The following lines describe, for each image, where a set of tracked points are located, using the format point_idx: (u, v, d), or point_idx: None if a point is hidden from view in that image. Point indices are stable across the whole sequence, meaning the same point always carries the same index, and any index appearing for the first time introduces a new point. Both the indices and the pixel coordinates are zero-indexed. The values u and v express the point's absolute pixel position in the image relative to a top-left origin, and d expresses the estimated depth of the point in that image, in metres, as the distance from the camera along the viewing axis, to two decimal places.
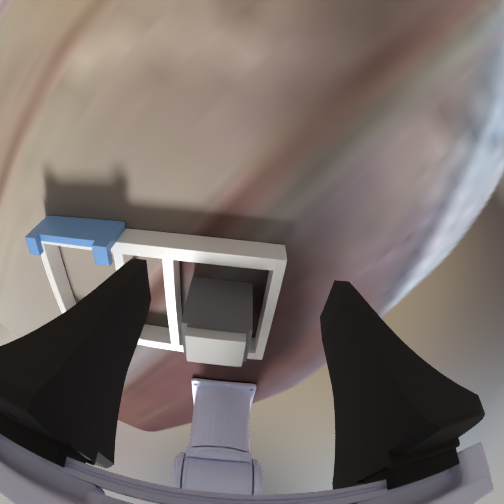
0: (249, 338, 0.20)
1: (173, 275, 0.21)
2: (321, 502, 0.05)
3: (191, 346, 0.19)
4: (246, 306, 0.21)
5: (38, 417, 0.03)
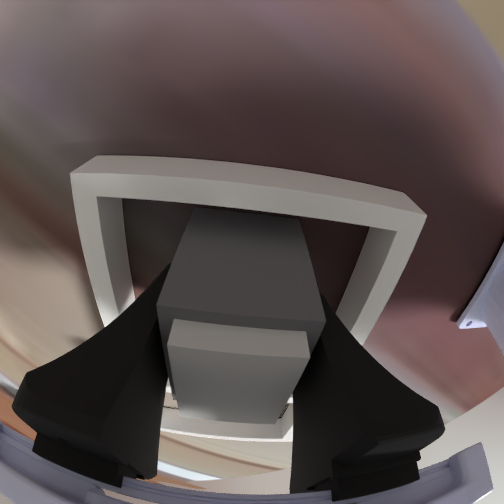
0: (195, 313, 0.06)
1: None
2: (322, 502, 0.05)
3: (217, 416, 0.08)
4: None
5: (107, 443, 0.03)
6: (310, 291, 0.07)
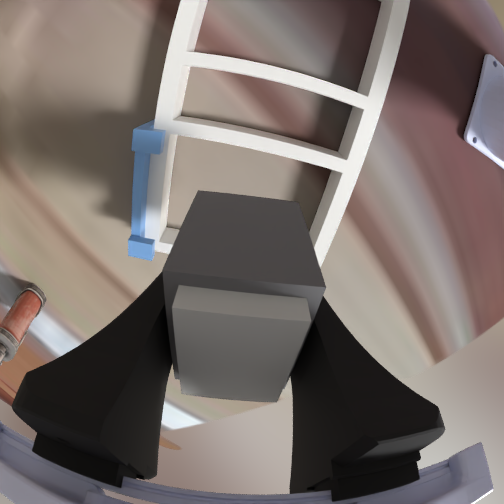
0: (200, 278, 0.07)
1: (213, 55, 0.12)
2: (322, 502, 0.05)
3: (218, 393, 0.08)
4: None
5: (107, 443, 0.03)
6: (310, 261, 0.08)
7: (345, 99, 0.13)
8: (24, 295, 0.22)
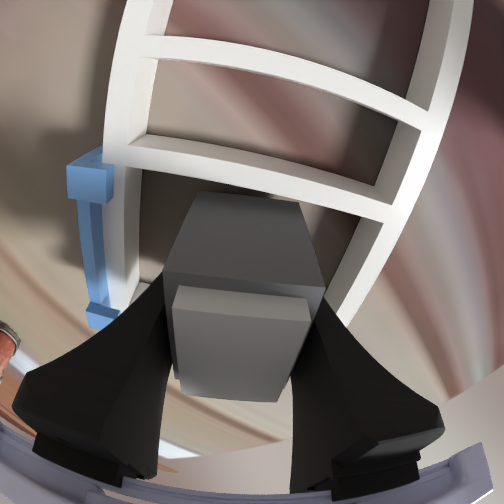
0: (200, 278, 0.07)
1: (188, 38, 0.07)
2: (321, 502, 0.05)
3: (218, 393, 0.08)
4: None
5: (107, 443, 0.03)
6: (310, 261, 0.08)
7: (397, 113, 0.08)
8: None
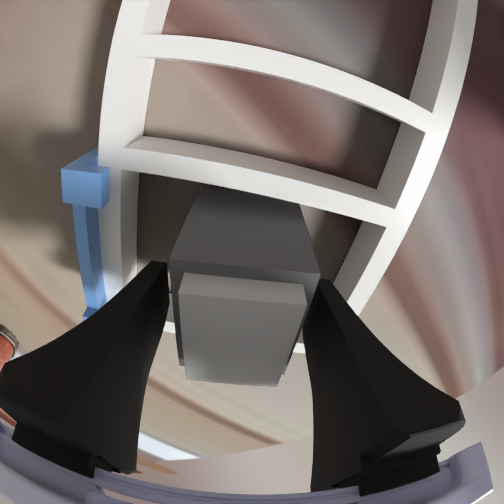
0: (204, 265, 0.07)
1: (185, 37, 0.07)
2: (321, 502, 0.05)
3: (221, 377, 0.09)
4: None
5: (72, 431, 0.03)
6: (306, 250, 0.08)
7: (401, 115, 0.08)
8: None
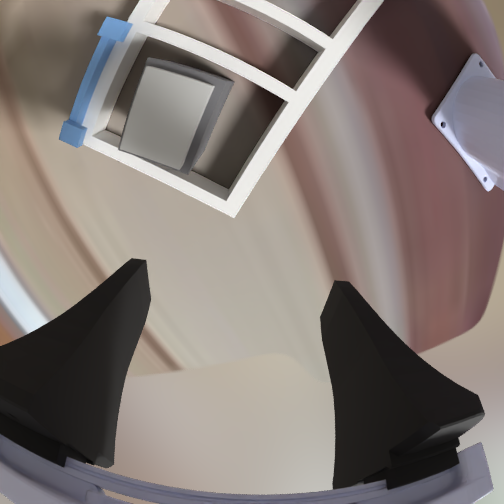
0: (164, 63, 0.10)
1: None
2: (321, 502, 0.05)
3: (143, 149, 0.12)
4: None
5: (38, 417, 0.03)
6: (224, 79, 0.12)
7: (309, 35, 0.12)
8: None
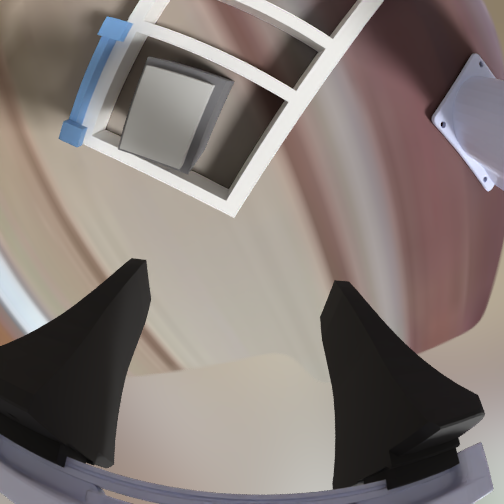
0: (164, 63, 0.10)
1: None
2: (321, 502, 0.05)
3: (144, 148, 0.12)
4: None
5: (38, 417, 0.03)
6: (224, 79, 0.12)
7: (309, 35, 0.12)
8: None
